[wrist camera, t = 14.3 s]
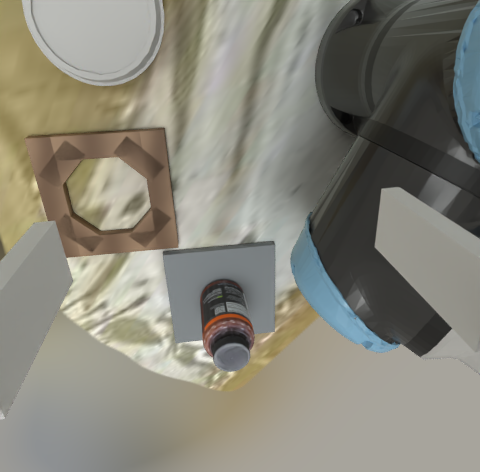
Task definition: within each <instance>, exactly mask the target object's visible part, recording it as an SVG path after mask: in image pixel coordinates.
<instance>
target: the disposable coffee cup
mask: <svg viewBox="0 0 480 472" xmlns="http://www.w3.org/2000/svg"><path fill="white" fill-rule="evenodd" d="M22 4H23V10H24V15H25V19H26V22H27V25H28V28H29V30H30V32H31V34H32V36H33V38H34V40H35V42H36V44H37V45H38V47H39V48H40V49H41V51H42V52H43V54H44V55H45V56H46V57H47V58H48V59H49V60H50V61H51V62H52V63H53V64H54V65H55V66H56V67H58V68H59V69H60V70H61V71H63V72H64V73H66V74H68V75H69V76H71V77H73V78H75V79H76V80H79V81H82V82H85V83H88V84H93V85H98V86H112V85H118V84H123V83H125V82H127V81H129V80H132V79H134V78H136V77H137V76H138V75H140V74H141V73H142V72H143V71H145V70H146V69H147V67H148V66H149V65H150V64H151V63H152V61H153V60H154V58H155V56H156V54H157V52H158V50H159V48H160V45H161V41H162V37H163V33H164V10H163V3H162V0H22Z"/></svg>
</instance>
